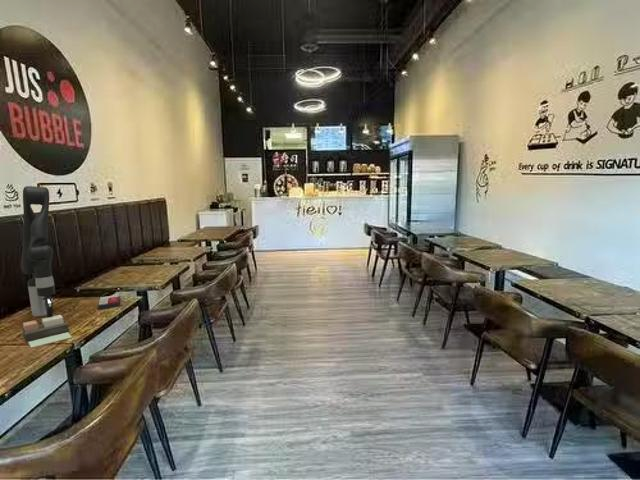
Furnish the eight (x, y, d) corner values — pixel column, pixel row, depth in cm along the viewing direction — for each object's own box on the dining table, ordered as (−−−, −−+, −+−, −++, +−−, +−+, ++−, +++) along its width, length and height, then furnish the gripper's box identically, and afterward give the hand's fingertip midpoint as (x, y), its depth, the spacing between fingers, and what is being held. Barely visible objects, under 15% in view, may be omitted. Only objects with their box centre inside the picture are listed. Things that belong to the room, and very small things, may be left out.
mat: (28, 342, 187) (28, 341, 187) (68, 332, 198) (67, 332, 198) (31, 348, 181) (31, 347, 181) (72, 337, 191) (72, 336, 191)
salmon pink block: (23, 328, 194) (22, 322, 194) (36, 326, 198) (35, 320, 197) (25, 332, 190) (24, 326, 189) (38, 329, 193) (37, 323, 193)
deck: (23, 336, 196) (22, 328, 195) (63, 326, 207) (62, 318, 207) (26, 342, 187) (25, 334, 187) (69, 332, 198) (67, 324, 198)
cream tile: (42, 324, 199) (41, 318, 199) (61, 320, 205) (60, 314, 204) (44, 327, 195) (43, 321, 194) (63, 323, 200) (62, 317, 200)
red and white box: (97, 304, 232) (99, 296, 245) (98, 311, 233) (100, 303, 246) (118, 301, 236) (119, 293, 250) (119, 308, 237) (120, 300, 250)
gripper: (56, 286, 200) (61, 319, 202) (51, 281, 209) (56, 313, 212) (38, 289, 195) (43, 323, 197) (34, 284, 204) (39, 317, 207)
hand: (50, 318), depth 205 cm, fingers closed
